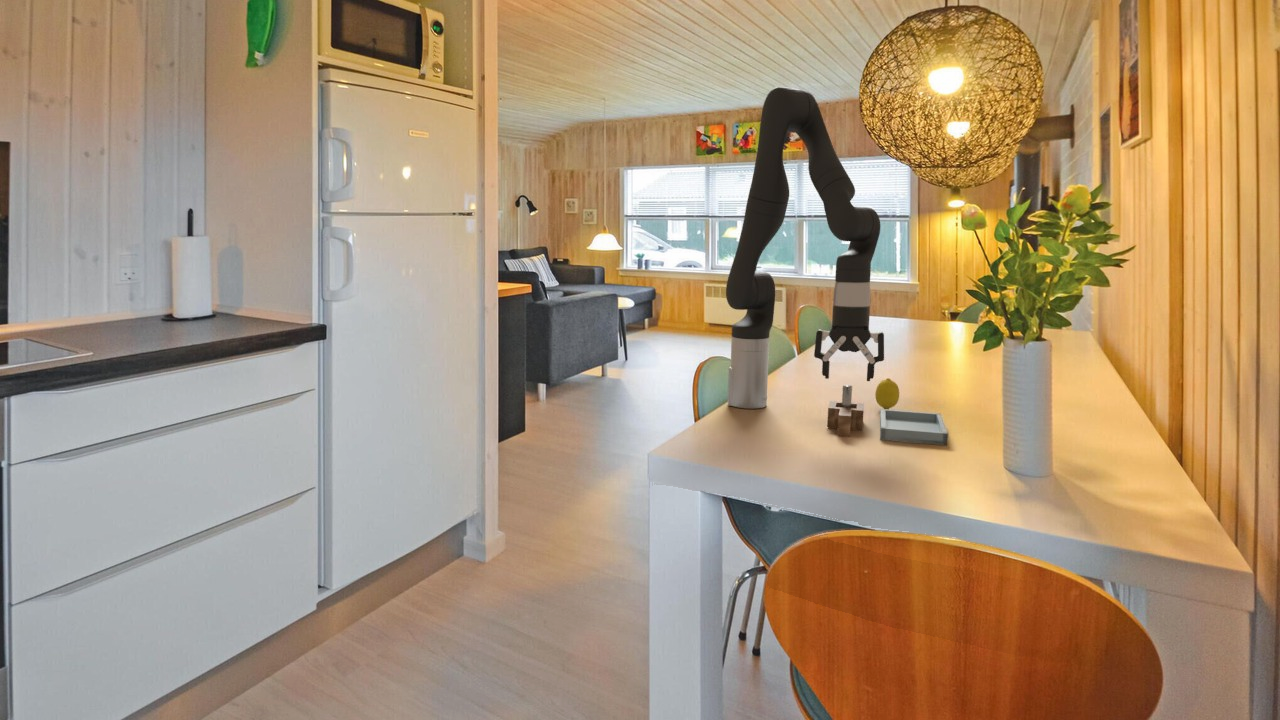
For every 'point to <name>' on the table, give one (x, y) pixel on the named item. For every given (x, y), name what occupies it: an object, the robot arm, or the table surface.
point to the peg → (846, 396)
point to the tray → (913, 427)
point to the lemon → (887, 393)
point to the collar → (845, 417)
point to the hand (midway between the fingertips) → (847, 379)
